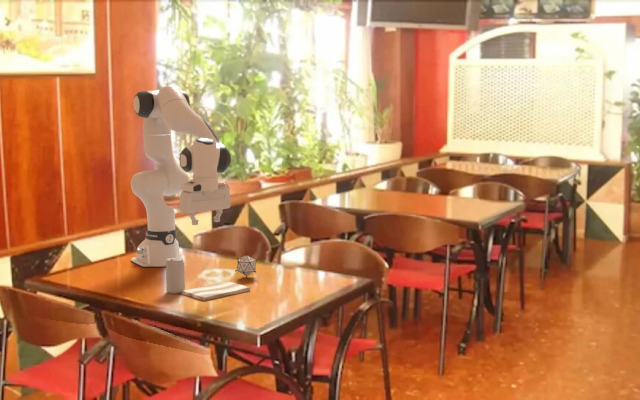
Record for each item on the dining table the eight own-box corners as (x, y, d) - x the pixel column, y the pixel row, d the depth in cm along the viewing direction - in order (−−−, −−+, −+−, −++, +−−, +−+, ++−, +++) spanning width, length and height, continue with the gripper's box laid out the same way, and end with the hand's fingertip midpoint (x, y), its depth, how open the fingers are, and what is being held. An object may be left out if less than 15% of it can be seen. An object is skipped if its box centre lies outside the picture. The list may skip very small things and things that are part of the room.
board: (182, 293, 268) (182, 290, 268) (227, 284, 282) (227, 281, 282) (204, 301, 259) (204, 297, 258) (250, 290, 273) (250, 287, 272)
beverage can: (162, 292, 270) (161, 259, 269) (177, 289, 275) (176, 256, 273) (173, 295, 266) (172, 261, 264) (188, 292, 271) (187, 258, 269)
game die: (254, 281, 286) (253, 255, 285) (232, 280, 288) (232, 254, 286) (260, 276, 295) (260, 250, 293) (239, 275, 296) (239, 249, 295)
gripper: (223, 181, 278) (224, 218, 280) (176, 186, 264) (177, 225, 266) (234, 183, 274) (234, 221, 276) (186, 187, 260) (187, 227, 262)
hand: (206, 223), depth 271 cm, fingers open, 8 cm apart
